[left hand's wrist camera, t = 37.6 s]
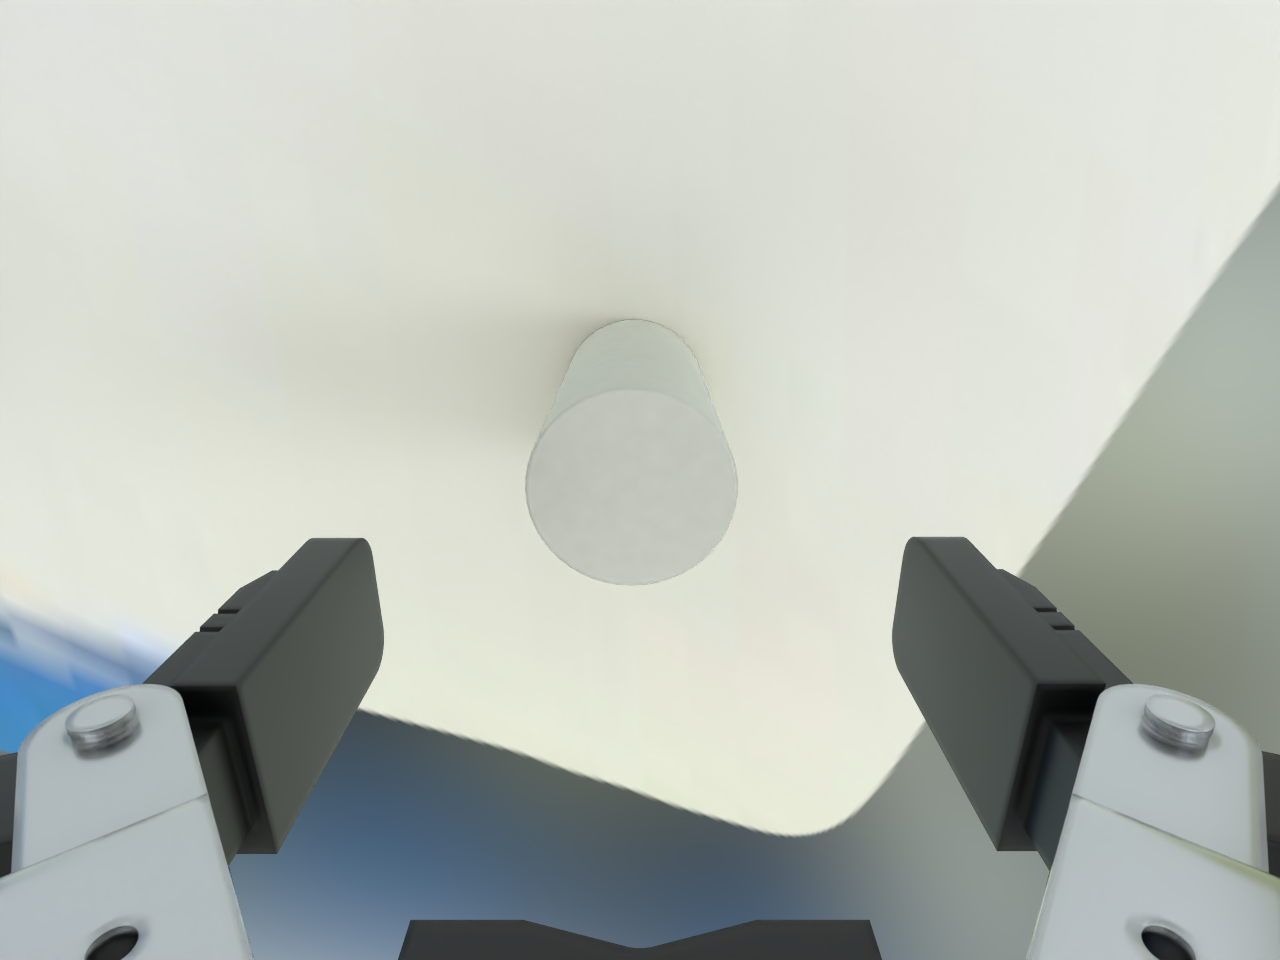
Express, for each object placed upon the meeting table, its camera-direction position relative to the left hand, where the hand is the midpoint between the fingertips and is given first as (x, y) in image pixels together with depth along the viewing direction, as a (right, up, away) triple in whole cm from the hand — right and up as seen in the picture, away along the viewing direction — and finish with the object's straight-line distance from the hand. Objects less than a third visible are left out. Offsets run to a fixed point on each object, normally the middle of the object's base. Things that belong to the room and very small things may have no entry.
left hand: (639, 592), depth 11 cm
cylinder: (0, +5, +13) cm, 14 cm away
